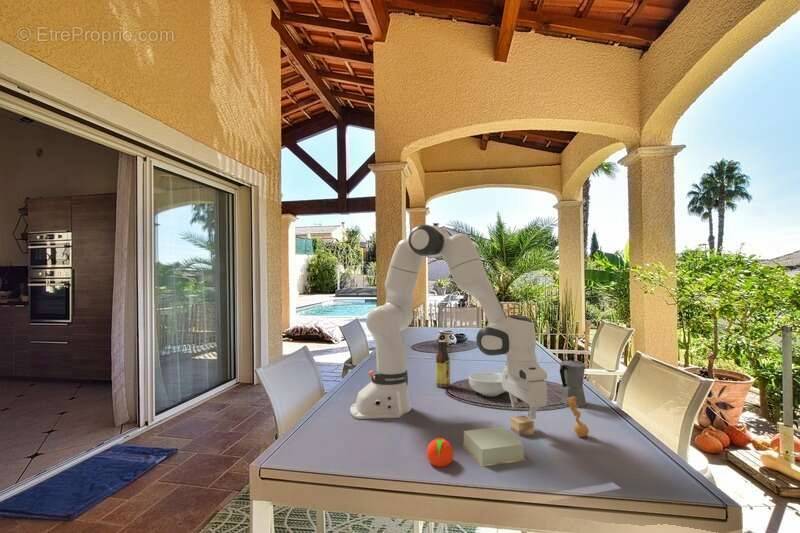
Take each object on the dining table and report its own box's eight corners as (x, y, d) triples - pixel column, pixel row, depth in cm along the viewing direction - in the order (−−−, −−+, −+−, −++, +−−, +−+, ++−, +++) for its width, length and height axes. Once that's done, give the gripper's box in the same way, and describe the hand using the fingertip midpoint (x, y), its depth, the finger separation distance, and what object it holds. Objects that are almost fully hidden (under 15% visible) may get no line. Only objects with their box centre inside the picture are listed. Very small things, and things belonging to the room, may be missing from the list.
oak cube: (519, 439, 117) (518, 423, 117) (510, 433, 122) (510, 417, 122) (534, 437, 118) (533, 421, 118) (525, 431, 123) (524, 415, 123)
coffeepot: (569, 396, 155) (568, 351, 156) (593, 402, 148) (592, 355, 148) (549, 405, 146) (548, 357, 146) (574, 412, 138) (573, 361, 139)
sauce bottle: (449, 388, 168) (448, 342, 168) (435, 387, 169) (434, 342, 169) (450, 384, 174) (450, 340, 175) (436, 383, 176) (436, 339, 176)
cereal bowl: (515, 391, 163) (515, 374, 163) (503, 402, 149) (503, 384, 149) (477, 385, 172) (477, 369, 172) (462, 395, 158) (462, 378, 158)
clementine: (453, 476, 96) (452, 447, 96) (425, 474, 97) (425, 445, 97) (454, 460, 104) (453, 434, 104) (428, 459, 105) (427, 432, 105)
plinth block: (482, 465, 99) (482, 449, 99) (463, 445, 111) (463, 430, 111) (524, 459, 102) (523, 444, 102) (501, 440, 114) (501, 426, 114)
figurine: (587, 443, 113) (587, 402, 114) (565, 439, 116) (564, 399, 117) (589, 432, 121) (588, 394, 121) (568, 429, 124) (567, 391, 124)
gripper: (496, 361, 129) (497, 403, 129) (531, 376, 109) (532, 426, 109) (513, 360, 131) (514, 401, 130) (550, 375, 111) (552, 423, 111)
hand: (523, 412), depth 120 cm, fingers open, 8 cm apart
